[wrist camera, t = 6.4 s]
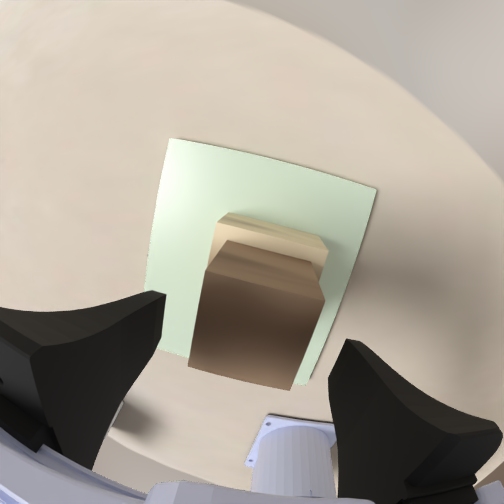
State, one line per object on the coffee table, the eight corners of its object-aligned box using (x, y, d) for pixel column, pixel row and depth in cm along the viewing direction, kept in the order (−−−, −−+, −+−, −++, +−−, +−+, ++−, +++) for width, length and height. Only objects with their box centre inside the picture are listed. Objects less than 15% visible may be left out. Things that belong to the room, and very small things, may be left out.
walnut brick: (286, 333, 17) (289, 390, 12) (210, 315, 17) (187, 366, 12) (310, 261, 15) (325, 300, 11) (226, 240, 15) (205, 270, 11)
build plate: (304, 378, 23) (305, 385, 22) (144, 336, 23) (139, 342, 22) (372, 188, 19) (376, 189, 18) (174, 139, 19) (169, 137, 18)
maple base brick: (292, 316, 21) (295, 346, 17) (210, 295, 21) (196, 322, 17) (318, 235, 19) (328, 251, 15) (228, 212, 19) (216, 222, 15)
